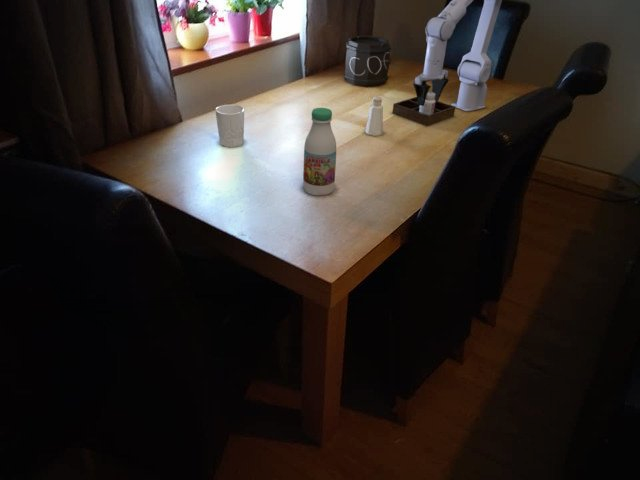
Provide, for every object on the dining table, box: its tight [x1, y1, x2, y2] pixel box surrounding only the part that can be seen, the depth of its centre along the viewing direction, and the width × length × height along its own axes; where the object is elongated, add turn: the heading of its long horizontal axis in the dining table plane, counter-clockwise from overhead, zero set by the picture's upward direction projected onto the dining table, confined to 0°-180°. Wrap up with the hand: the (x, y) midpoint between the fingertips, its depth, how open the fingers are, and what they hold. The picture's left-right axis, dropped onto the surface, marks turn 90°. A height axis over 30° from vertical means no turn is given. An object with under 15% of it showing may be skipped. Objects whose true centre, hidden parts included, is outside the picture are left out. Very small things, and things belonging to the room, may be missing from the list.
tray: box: [392, 96, 456, 127], centre depth 171 cm, size 15×15×3 cm
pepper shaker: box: [364, 96, 384, 137], centre depth 154 cm, size 5×5×11 cm
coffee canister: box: [344, 35, 392, 88], centre depth 198 cm, size 18×18×16 cm
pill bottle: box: [419, 91, 436, 115], centre depth 165 cm, size 5×5×8 cm
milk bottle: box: [302, 107, 337, 196], centre depth 119 cm, size 8×8×20 cm
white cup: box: [215, 104, 245, 148], centre depth 144 cm, size 8×8×10 cm
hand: (427, 102), depth 165 cm, fingers open, 7 cm apart
